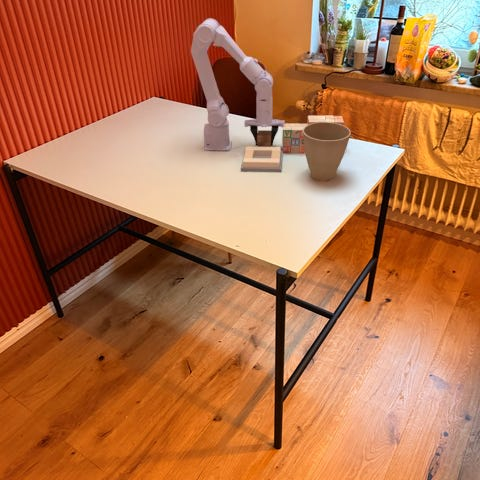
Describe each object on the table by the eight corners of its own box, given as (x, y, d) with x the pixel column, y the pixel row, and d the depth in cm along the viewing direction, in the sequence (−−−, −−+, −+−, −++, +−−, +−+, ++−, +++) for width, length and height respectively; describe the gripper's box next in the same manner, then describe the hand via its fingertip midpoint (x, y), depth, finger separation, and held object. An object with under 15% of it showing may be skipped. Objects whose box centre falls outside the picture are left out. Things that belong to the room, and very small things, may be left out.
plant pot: (317, 191, 143) (321, 144, 134) (292, 172, 154) (293, 128, 144) (354, 179, 148) (360, 133, 139) (327, 161, 159) (331, 118, 150)
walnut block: (257, 150, 168) (257, 135, 165) (258, 145, 172) (258, 130, 169) (270, 151, 168) (270, 135, 164) (271, 145, 172) (271, 130, 168)
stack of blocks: (281, 153, 166) (282, 121, 159) (282, 146, 171) (282, 115, 164) (340, 154, 164) (344, 121, 157) (339, 146, 169) (342, 115, 162)
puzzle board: (240, 171, 156) (240, 162, 154) (244, 153, 167) (244, 145, 165) (281, 172, 154) (281, 163, 152) (282, 154, 165) (282, 146, 163)
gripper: (243, 113, 159) (244, 148, 167) (284, 113, 157) (283, 149, 165) (245, 106, 164) (246, 140, 172) (284, 106, 163) (283, 141, 171)
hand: (264, 144), depth 169 cm, fingers closed on walnut block, 5 cm apart
